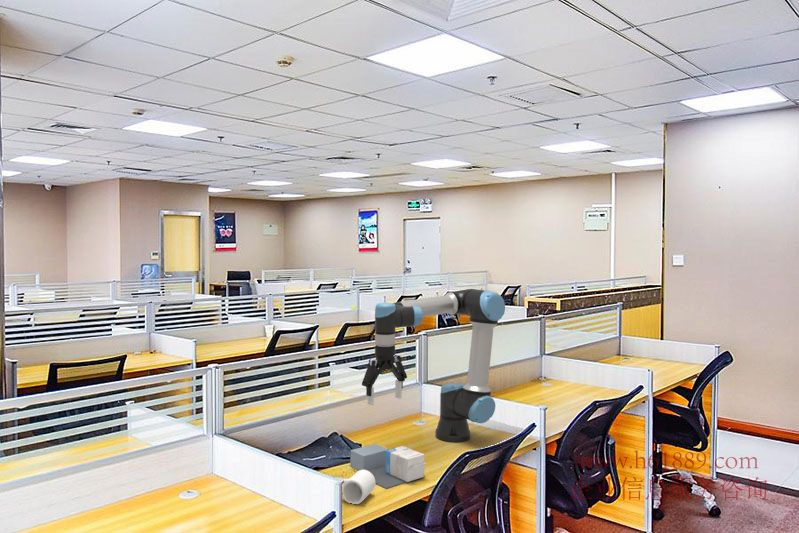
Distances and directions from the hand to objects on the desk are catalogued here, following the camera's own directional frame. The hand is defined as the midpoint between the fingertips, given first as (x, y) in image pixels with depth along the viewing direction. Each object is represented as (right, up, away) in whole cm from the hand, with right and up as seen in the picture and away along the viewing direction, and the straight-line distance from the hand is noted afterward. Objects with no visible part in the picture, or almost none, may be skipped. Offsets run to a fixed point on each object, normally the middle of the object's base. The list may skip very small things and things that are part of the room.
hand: (384, 401), depth 233 cm
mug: (-10, -26, -28) cm, 39 cm away
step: (-6, -24, +1) cm, 25 cm away
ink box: (+3, -20, -4) cm, 21 cm away
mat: (+2, -25, -9) cm, 27 cm away
